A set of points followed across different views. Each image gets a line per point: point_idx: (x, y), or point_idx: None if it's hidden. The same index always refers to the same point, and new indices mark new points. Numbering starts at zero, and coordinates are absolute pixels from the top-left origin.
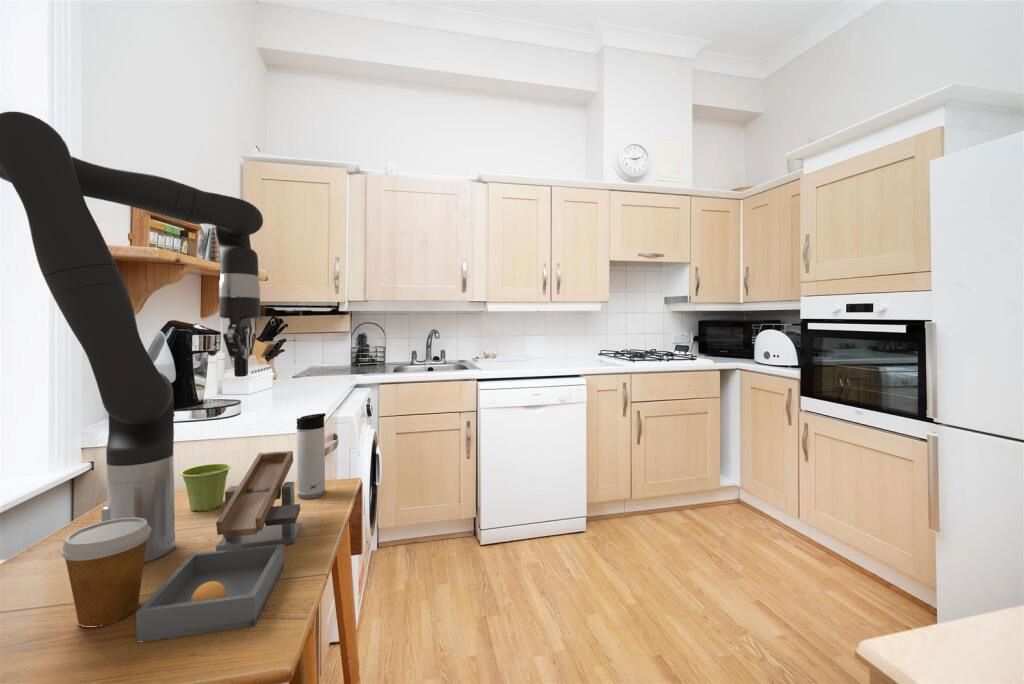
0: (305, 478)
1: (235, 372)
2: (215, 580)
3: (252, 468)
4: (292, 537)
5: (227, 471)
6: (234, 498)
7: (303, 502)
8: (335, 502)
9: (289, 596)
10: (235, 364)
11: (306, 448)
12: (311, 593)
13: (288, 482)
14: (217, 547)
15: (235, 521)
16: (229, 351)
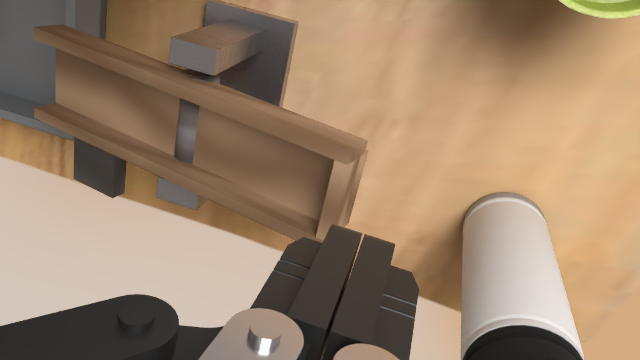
0: (469, 238)
1: (294, 243)
2: (62, 16)
3: (246, 119)
4: None
5: (591, 6)
6: (107, 65)
7: (447, 199)
8: (399, 266)
9: (11, 127)
10: (263, 289)
11: (467, 299)
12: (12, 156)
13: (194, 196)
14: (207, 3)
15: (80, 62)
16: (36, 332)
